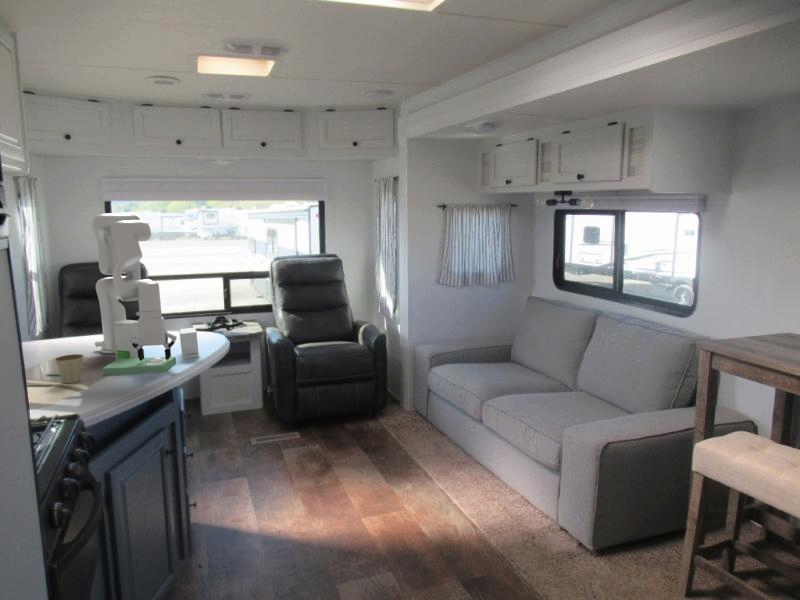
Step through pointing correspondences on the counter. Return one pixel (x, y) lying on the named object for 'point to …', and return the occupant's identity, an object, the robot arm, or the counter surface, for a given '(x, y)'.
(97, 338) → the counter surface
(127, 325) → the skincare box
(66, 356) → the flower pot
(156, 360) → the ball
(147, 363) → the putting mat
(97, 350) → the counter surface
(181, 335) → the skincare box
